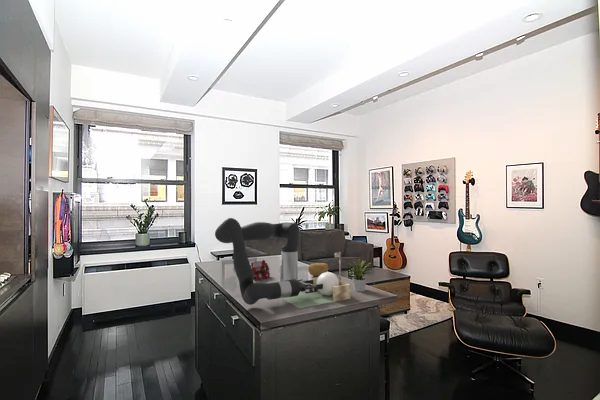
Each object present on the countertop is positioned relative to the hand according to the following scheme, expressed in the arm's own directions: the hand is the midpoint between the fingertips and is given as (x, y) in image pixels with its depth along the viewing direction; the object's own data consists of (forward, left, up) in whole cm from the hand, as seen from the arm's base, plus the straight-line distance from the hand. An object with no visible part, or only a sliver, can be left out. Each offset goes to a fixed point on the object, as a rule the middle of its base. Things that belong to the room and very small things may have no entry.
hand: (317, 284), depth 152 cm
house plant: (+13, +19, -7) cm, 24 cm away
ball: (+3, +5, -1) cm, 6 cm away
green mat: (-1, -1, -6) cm, 6 cm away
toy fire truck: (-46, +15, -7) cm, 49 cm away
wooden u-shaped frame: (+4, +7, -6) cm, 10 cm away
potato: (-19, +37, -7) cm, 43 cm away
